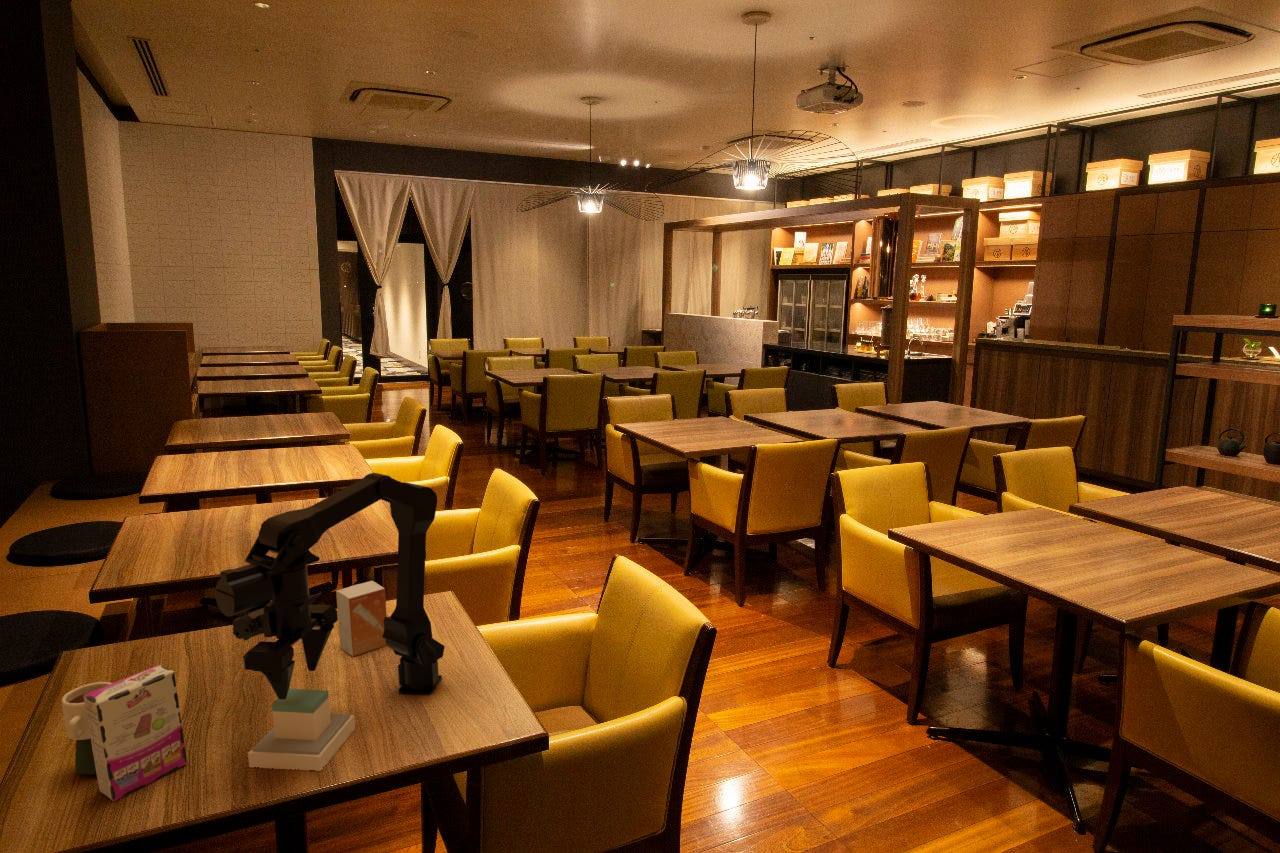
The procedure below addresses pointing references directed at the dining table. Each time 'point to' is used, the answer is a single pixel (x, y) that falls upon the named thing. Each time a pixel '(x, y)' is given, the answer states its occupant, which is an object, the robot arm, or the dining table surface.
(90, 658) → the dining table surface
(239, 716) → the dining table surface
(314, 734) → the cream carton
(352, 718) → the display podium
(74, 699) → the character mug
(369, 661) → the dining table surface
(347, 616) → the small box
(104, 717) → the candy bar box
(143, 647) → the dining table surface
